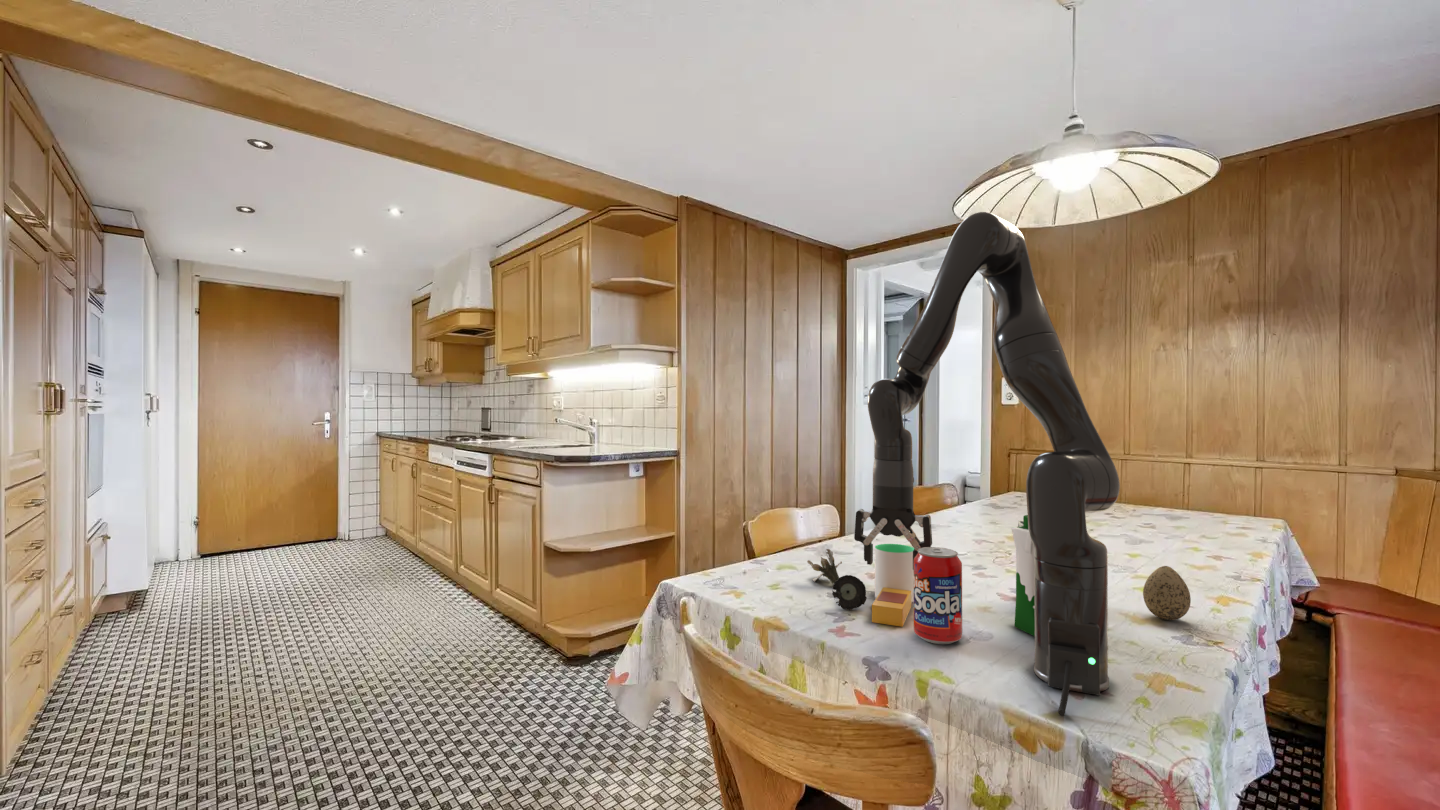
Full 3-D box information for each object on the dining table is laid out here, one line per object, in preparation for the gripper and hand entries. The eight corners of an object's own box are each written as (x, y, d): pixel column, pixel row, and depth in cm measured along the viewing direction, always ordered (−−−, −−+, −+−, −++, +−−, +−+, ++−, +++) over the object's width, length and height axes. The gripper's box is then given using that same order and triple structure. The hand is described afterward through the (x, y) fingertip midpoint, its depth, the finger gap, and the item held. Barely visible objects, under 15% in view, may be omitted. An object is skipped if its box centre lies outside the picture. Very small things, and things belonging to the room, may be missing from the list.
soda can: (959, 632, 105) (959, 547, 105) (965, 649, 97) (964, 557, 97) (912, 627, 107) (912, 544, 107) (914, 644, 99) (914, 554, 99)
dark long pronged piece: (827, 617, 116) (812, 566, 117) (815, 595, 138) (803, 552, 140) (871, 605, 116) (856, 554, 117) (852, 585, 138) (840, 542, 139)
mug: (865, 586, 132) (865, 539, 132) (901, 586, 132) (901, 539, 132) (881, 604, 120) (881, 552, 120) (920, 604, 120) (920, 552, 120)
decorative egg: (1137, 611, 116) (1137, 560, 116) (1180, 615, 114) (1180, 562, 114) (1151, 623, 109) (1151, 569, 109) (1198, 628, 107) (1197, 572, 107)
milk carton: (1045, 621, 110) (1045, 513, 110) (1087, 639, 102) (1087, 522, 102) (1006, 625, 108) (1005, 515, 108) (1045, 644, 99) (1045, 525, 99)
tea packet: (902, 626, 107) (902, 608, 107) (871, 622, 110) (871, 604, 110) (911, 606, 118) (911, 590, 118) (883, 603, 121) (883, 586, 121)
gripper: (851, 482, 114) (851, 566, 114) (929, 487, 108) (929, 576, 108) (860, 478, 121) (859, 557, 121) (934, 482, 115) (933, 566, 115)
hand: (892, 566), depth 114 cm, fingers open, 8 cm apart
